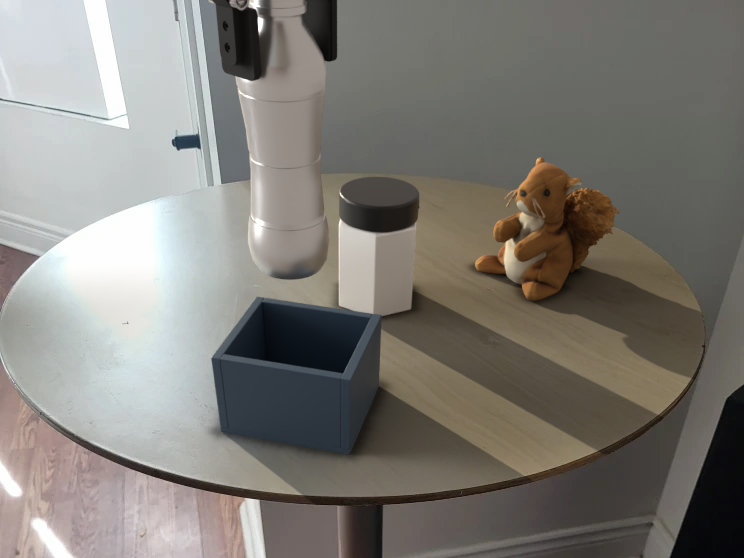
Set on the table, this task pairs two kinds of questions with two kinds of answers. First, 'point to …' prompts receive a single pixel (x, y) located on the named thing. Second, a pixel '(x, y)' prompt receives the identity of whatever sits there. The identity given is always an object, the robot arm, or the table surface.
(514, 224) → the stuffed squirrel
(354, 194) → the jar
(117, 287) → the table surface
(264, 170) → the silver metal bottle
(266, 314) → the bin
